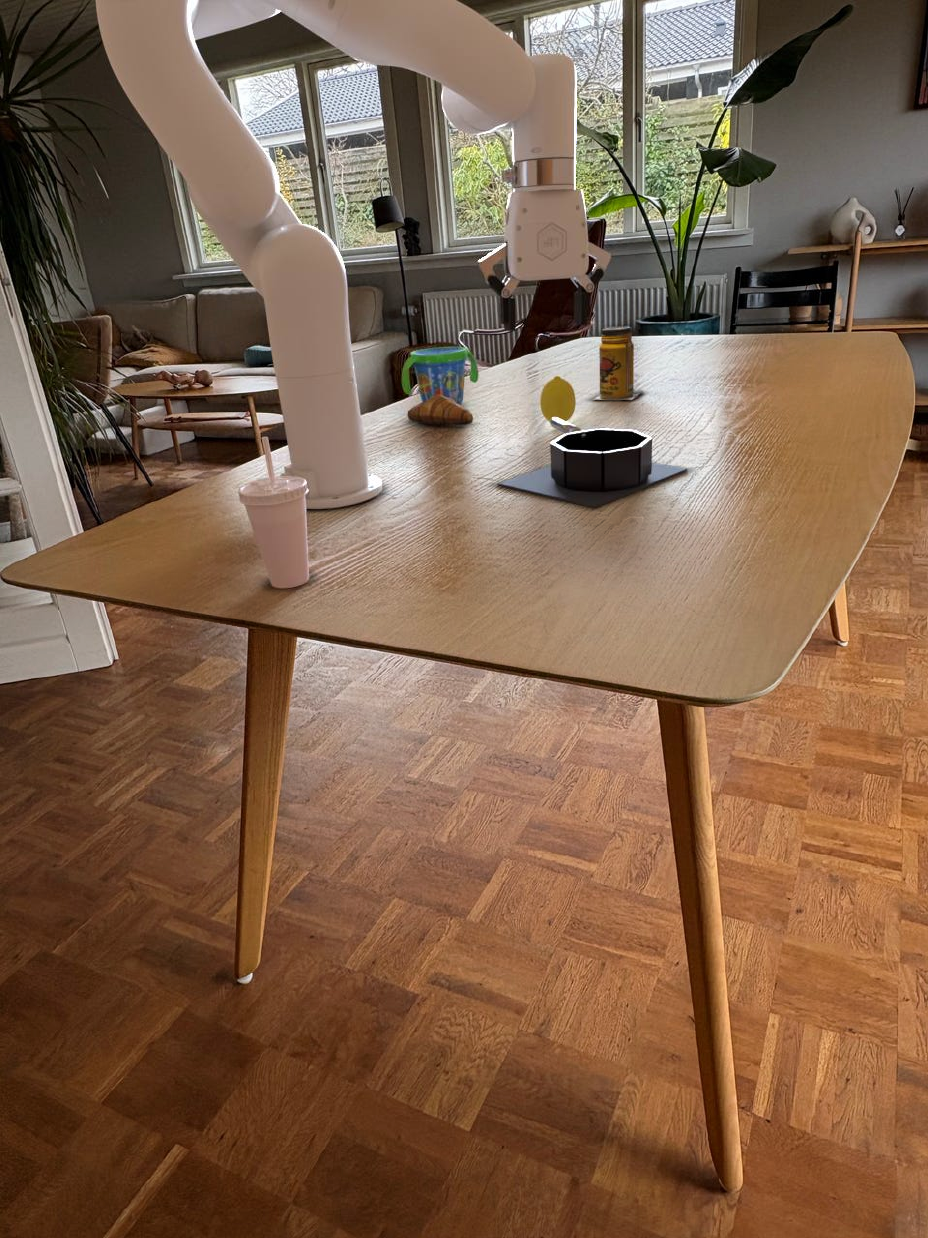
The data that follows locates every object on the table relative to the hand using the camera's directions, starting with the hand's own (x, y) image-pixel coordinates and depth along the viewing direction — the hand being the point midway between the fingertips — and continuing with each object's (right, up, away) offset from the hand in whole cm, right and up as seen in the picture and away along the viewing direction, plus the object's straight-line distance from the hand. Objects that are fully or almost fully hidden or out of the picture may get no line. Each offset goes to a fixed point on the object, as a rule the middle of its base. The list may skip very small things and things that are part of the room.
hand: (545, 327), depth 105 cm
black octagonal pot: (+5, -18, 0) cm, 19 cm away
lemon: (+5, -8, +24) cm, 25 cm away
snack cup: (-14, +2, +47) cm, 49 cm away
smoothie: (-28, -35, -26) cm, 52 cm away
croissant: (-15, -5, +33) cm, 37 cm away
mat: (+6, -20, -3) cm, 21 cm away
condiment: (+18, +3, +43) cm, 46 cm away
